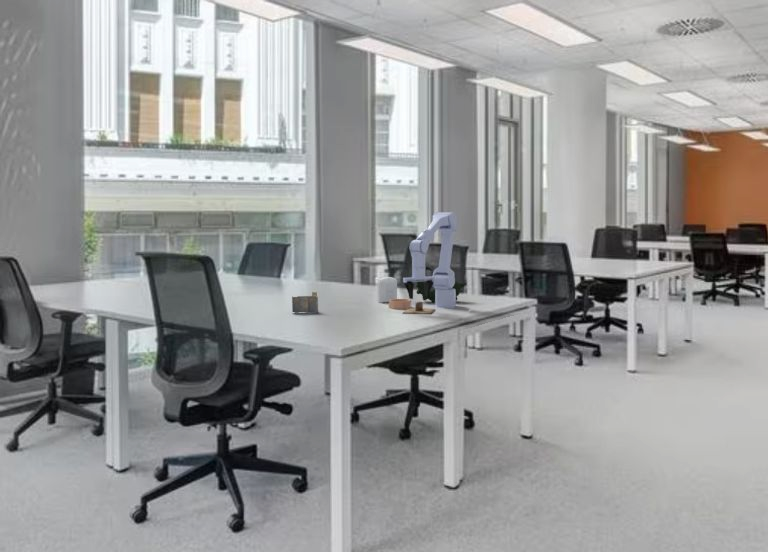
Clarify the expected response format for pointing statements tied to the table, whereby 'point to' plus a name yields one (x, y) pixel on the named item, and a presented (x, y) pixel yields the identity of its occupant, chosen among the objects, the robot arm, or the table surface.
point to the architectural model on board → (305, 303)
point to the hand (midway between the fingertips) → (418, 298)
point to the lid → (418, 309)
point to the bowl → (399, 303)
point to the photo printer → (387, 289)
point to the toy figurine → (431, 297)
